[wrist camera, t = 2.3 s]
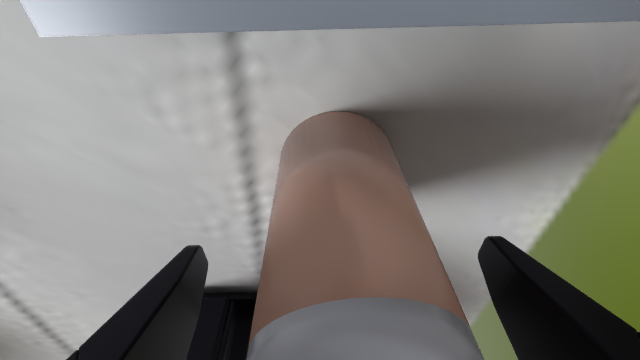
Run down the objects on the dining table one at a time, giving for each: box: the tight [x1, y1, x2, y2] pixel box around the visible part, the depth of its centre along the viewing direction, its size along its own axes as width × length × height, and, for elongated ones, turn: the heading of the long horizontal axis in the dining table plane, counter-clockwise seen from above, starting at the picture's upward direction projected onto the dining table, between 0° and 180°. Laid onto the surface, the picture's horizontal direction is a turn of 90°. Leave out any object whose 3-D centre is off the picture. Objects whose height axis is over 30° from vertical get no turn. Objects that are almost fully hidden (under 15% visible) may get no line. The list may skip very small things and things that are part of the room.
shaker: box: [246, 111, 484, 360], centre depth 9 cm, size 5×5×9 cm
